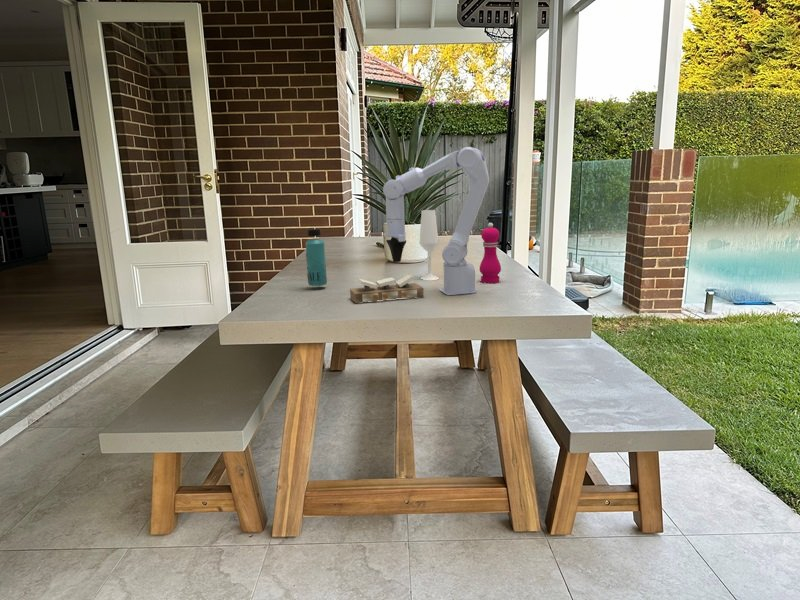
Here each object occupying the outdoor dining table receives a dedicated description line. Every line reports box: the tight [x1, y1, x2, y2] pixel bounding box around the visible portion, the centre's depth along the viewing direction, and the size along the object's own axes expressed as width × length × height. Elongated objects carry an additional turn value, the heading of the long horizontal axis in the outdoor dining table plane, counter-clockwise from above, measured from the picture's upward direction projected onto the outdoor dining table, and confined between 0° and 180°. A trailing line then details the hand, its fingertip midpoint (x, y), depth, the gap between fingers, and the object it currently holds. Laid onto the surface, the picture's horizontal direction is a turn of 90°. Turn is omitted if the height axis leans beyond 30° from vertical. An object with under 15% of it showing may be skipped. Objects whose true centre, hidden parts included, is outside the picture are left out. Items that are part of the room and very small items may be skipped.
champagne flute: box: [419, 209, 440, 281], centre depth 193 cm, size 7×7×24 cm
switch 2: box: [375, 276, 397, 287], centre depth 167 cm, size 5×4×1 cm
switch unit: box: [349, 282, 424, 304], centre depth 167 cm, size 21×8×4 cm, turn 106°
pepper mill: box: [479, 222, 502, 284], centre depth 185 cm, size 7×7×20 cm
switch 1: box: [357, 278, 378, 288], centre depth 165 cm, size 5×4×1 cm
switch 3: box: [395, 273, 415, 287], centre depth 168 cm, size 5×4×1 cm
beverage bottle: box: [305, 228, 328, 287], centre depth 183 cm, size 6×7×20 cm
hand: (396, 261), depth 176 cm, fingers closed
